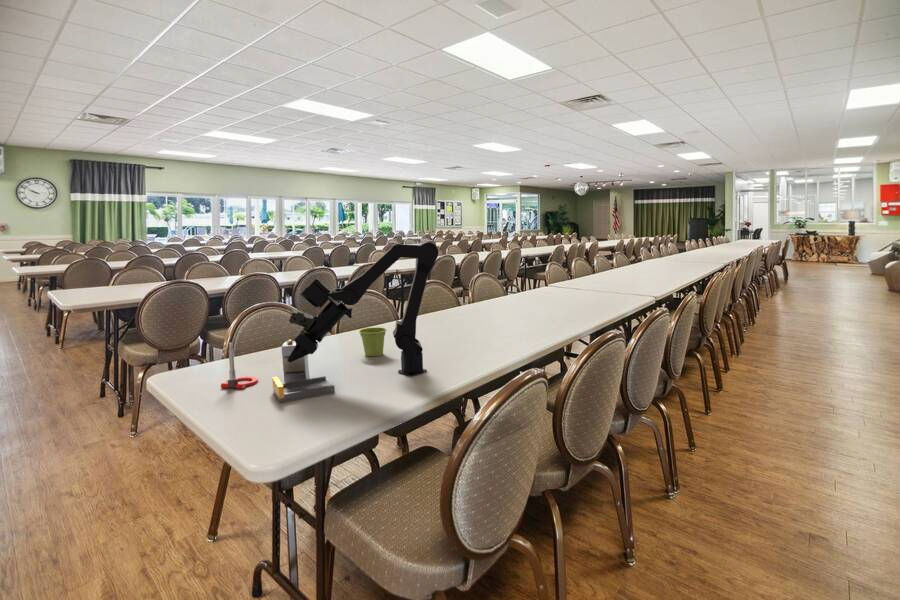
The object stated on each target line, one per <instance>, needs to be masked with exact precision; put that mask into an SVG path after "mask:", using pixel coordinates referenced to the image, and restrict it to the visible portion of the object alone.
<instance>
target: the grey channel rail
mask: <svg viewBox="0 0 900 600" xmlns="http://www.w3.org/2000/svg"><path fill="white" fill-rule="evenodd" d="M271 379H272V392H273V394H274V396H275V397H276V399H277V401H278V403H279V404H283V403H287V402H293V401H298V400H303V399H309V398H313V397H319V396H324V395H329V394H335V392H336V391H335V390H336V388H335V384H330V382H329V381H328V380H327V376H325V375H324V376H319V377H313V378H308V379H306V380H300V381H294V382H288V383H284V382H283V383H282V382H281V381H280V379H279V377H278V376H273V377H272V376H271Z"/></svg>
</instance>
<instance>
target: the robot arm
mask: <svg viewBox="0 0 900 600" xmlns="http://www.w3.org/2000/svg"><path fill="white" fill-rule="evenodd" d="M438 256H439V249H438V247H437V245H436V244H435V243H433V242H430V241H423V242H421V243H420V244H402V243H394V244H392V246H391V248H389V249H388V250H387V251H386V252H385V253H384V254H383V255H382V256H381V257H380V258H378V260H376V261H375V262H374V263H373V264H372V265H371V266H370V267H368V269H366V271H364V272H363V273H362V274H360V275H359V276H357V277H356V278H354V279H352V280H351V281H349V282H348V283H346V284H345V285H343V286H342V288H336V289H335V288H334V289H330V288H329V287H327V286H326V285H325V284H324V283H323V282H322V281H321V280H320V279H319V278H318V277H317V278H315V279H314V280H313V282H311V283H310V284H309V285H308V286H306V287H305V288H304V289H303V291H302V292H301V293H300V294H299V296H300V297H301V298H302V299H304V300H305V301H306V302H307V303H308V304H309V305H311V306H312V307H313V308H315V309H316V308H320V309H321V308H322V307H323V306H324V305H325V304H326V303H327V301H329V302H328V303H327V304H326V305H325V306H324V307H323V308H322V309H321V310H320V311H319V312H318V313H316V314H315V315H312V314H310V313H306V312H305V311H302V310H299V309H293V310H292V312H291V315H290V317H289V319H288V322H289V323H290V324H291V325H292V324H295V325H298V326H299V327H303V328H302V329H301V331H300V332H299V333H298V334H297V336H296V337H295V338H294V340H293V341H295V342H296V347H295V348H294V350H293V351H292V353H291V355H290V356H289V358H288V359H287V361H288V362H293V361H295V360H297V359H299V358H301V357H304V356H306V355H314V353H315V352H316V351H317V350H318V348H319V343H321V342H323V339H324V338H325V337H326V336H327V335H328V333H331V331H332V330H333V329H334V327H335V326H336V325H337V324H338V323H339V322H341V320H342V319H343V318H344V317H345V316H347V317H348V318H349V319H352V318H353V307H348V306H354V305H356V304H358V302H359V301H360V300H361V298H362V297H363V296H364V294H366V292H367V290H368V289H369V287H371V285H372V284H373V283H374V282H376V281H377V279H378V278H379V277H381V276H382V275H383V274H384V273H385V272H386V271H387V270H389V268H391V266H393V265H394V264H395V263H396V262H397V261H398V260H399V259H401V258H407V259H415V268H414V269H415V270H414V271H415V272H414V275H413V278H412V279H413V280H412V283H411V287H410V291H409V294H408V298H407V301H406V306H405V309H404V312H403V316H402V317H401V320H400V321H399V320H397V319H396V320H395V327H394V330H393V331H392V334H393V335H392V336H393V338H394V342H395V345H396V347H397V348H398V349H400V350H402V351H401V352H400V353H401V354H400V355H401V356H400V360H401V361H400V363H401V367H400V368H401V369H399V370H397V373H399V374H403V375H405V376H408V377H414V376H417V375H421V374H424V373H427V372H428V369H425V368H424V360H423V346H422V344H421V342H420V340H419V339H417V338H416V335H417V334H416V333H417V332H416V331H417V320H418V319H417V318H418V315H419V312H420V308H421V304H422V299H423V296H424V291H425V289H426V286H427V285H426V284H427V281H428V278H429V274H430V273H431V271H432V270H433V268H434V265H435V263H436V261H437V259H438ZM338 301H339V302H338Z"/></svg>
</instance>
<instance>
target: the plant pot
mask: <svg viewBox="0 0 900 600" xmlns="http://www.w3.org/2000/svg"><path fill="white" fill-rule="evenodd" d="M387 331H388V330H387V328H386V327H377V326H375V327H365V328H361V329H359V330H358V333H359V335H360V337H361V339H362V345H363V350H364V355H365V356H366V357H372V356H373V357H378V356H382V355H383V354H384V344H385V335H386V332H387Z"/></svg>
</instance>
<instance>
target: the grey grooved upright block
mask: <svg viewBox="0 0 900 600" xmlns="http://www.w3.org/2000/svg"><path fill="white" fill-rule="evenodd" d="M295 347H296V342H295V340H293V339H287V340H286V341H285V342H284V343H283V344H282V345H281V356H282V368H283V369H282V370H283V379H284V380H283V383H288V382H294V381H300V380H306V379H310V368H309V356H308V355H309V354H308V355H306V356H304V357H301V358H299V359H297V360H295V361H293V362H288V361H287V359H288V358H289V356H290V355H291V353H292V351H293V350H294V348H295Z"/></svg>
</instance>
